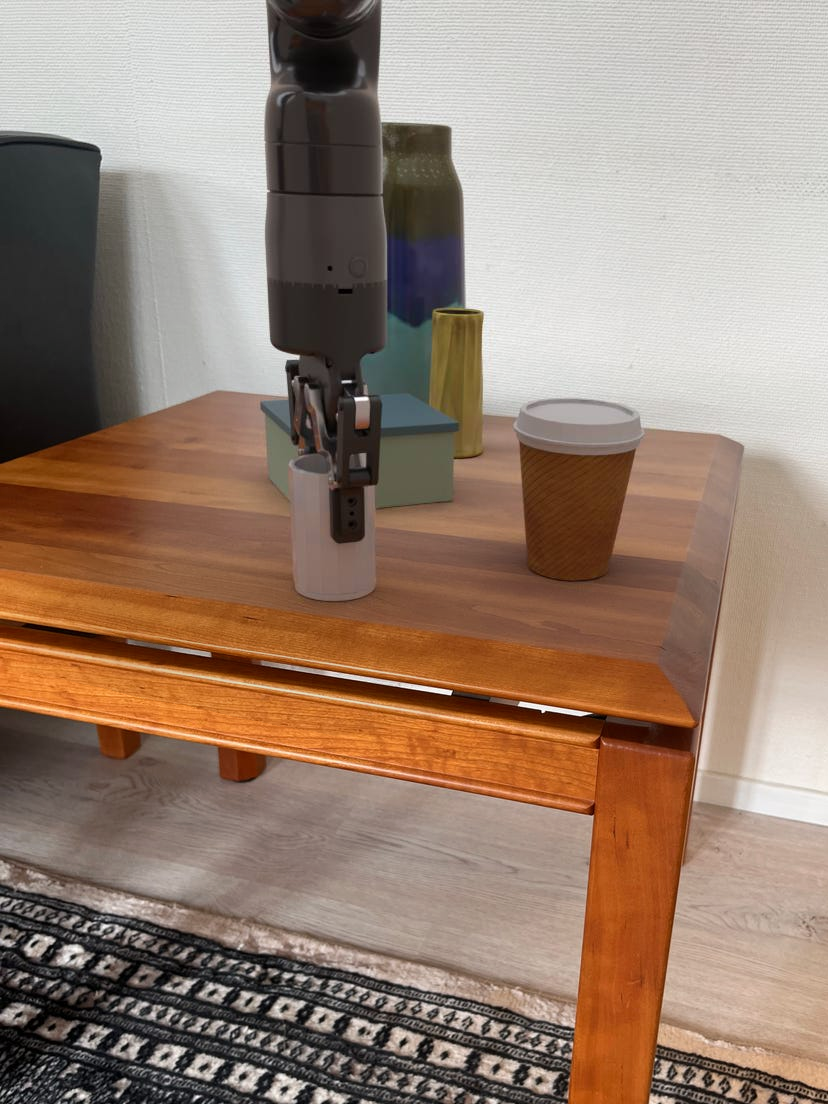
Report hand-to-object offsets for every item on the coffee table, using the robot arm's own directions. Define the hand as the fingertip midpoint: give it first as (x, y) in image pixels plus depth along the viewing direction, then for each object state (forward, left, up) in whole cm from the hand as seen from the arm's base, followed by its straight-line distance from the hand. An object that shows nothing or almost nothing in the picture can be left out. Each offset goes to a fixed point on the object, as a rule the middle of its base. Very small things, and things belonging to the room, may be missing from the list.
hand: (333, 525), depth 71 cm
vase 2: (+23, +32, -5) cm, 40 cm away
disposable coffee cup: (+18, -2, -5) cm, 19 cm away
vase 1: (+24, +49, -5) cm, 55 cm away
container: (+9, +22, -5) cm, 24 cm away
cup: (0, 0, -5) cm, 5 cm away
